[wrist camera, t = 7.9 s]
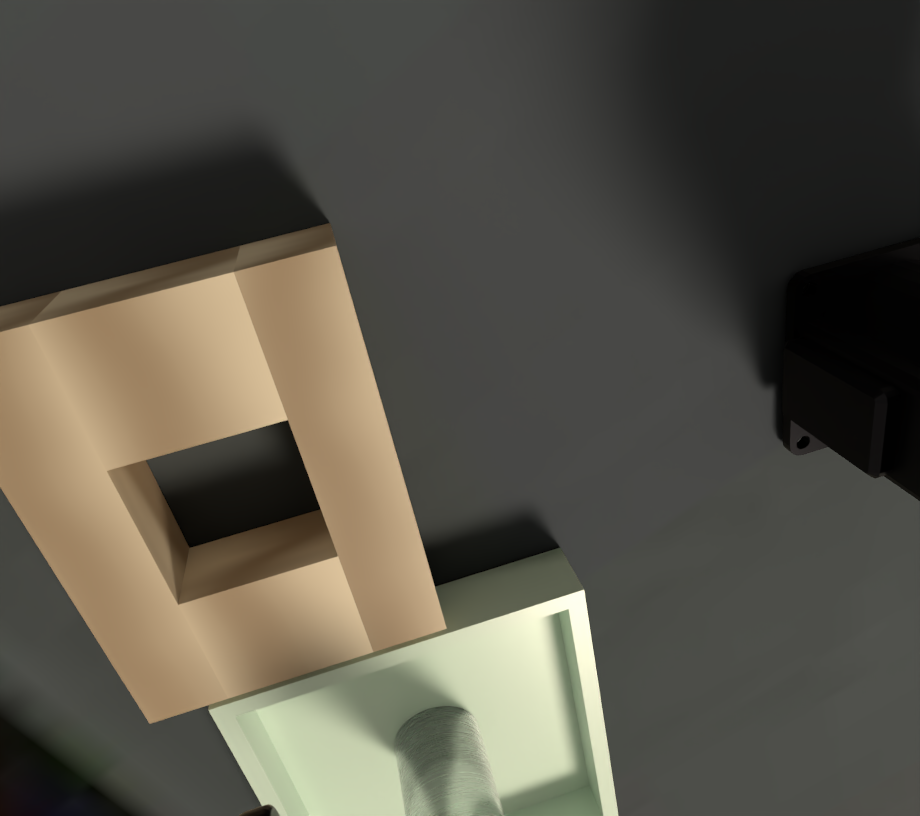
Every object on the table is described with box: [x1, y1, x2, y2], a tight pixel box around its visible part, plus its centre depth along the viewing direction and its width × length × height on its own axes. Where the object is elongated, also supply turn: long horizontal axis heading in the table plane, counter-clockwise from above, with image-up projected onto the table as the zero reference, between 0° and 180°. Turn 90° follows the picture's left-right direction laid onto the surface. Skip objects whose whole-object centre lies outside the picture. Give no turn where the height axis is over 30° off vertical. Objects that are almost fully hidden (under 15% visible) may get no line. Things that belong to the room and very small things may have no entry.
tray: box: [209, 548, 618, 816], centre depth 26 cm, size 12×13×2 cm
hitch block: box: [0, 223, 447, 724], centre depth 19 cm, size 9×12×2 cm
